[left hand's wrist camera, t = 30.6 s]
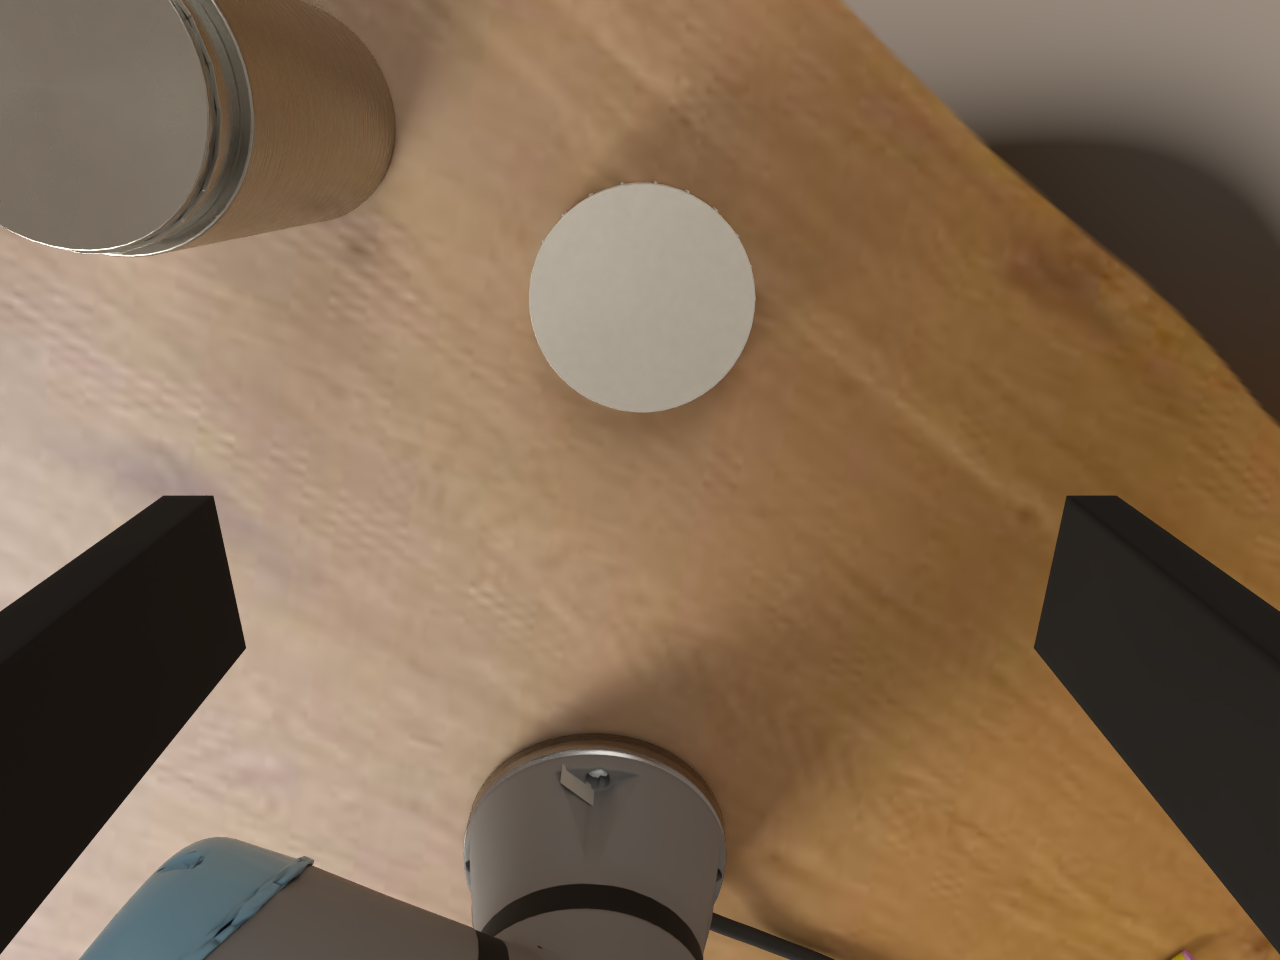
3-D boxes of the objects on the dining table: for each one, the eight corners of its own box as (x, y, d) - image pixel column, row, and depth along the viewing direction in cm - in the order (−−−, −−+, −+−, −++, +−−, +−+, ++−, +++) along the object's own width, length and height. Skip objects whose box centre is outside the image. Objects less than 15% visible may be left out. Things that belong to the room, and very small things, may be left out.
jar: (408, 32, 32) (233, -62, 18) (381, 243, 36) (214, 299, 22) (194, -27, 32) (-158, -173, 18) (186, 194, 35) (-120, 218, 21)
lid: (694, 138, 34) (697, 137, 32) (784, 346, 37) (791, 356, 35) (493, 244, 36) (485, 249, 34) (596, 435, 39) (594, 449, 37)
